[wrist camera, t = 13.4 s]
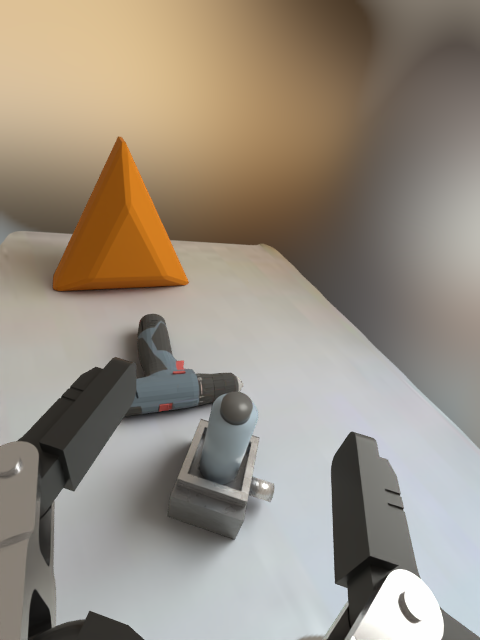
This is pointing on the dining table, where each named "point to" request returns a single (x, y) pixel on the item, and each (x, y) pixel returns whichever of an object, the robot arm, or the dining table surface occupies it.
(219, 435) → the capped canister
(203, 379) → the power drill
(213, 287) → the dining table surface
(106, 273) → the decorative object
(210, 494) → the grey metal open box
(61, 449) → the robot arm
